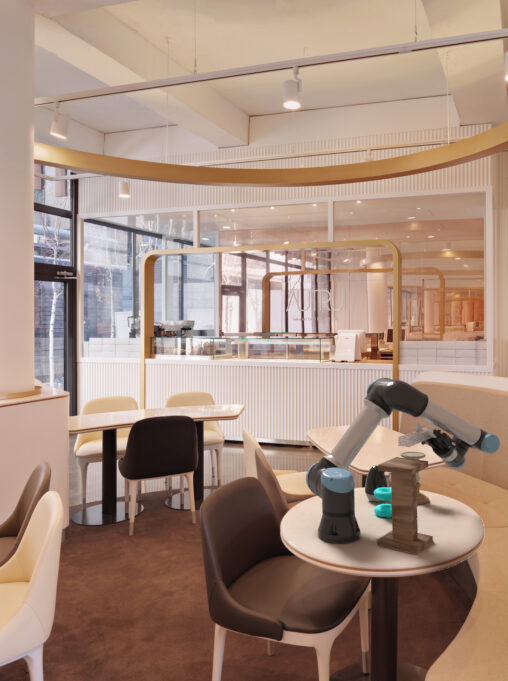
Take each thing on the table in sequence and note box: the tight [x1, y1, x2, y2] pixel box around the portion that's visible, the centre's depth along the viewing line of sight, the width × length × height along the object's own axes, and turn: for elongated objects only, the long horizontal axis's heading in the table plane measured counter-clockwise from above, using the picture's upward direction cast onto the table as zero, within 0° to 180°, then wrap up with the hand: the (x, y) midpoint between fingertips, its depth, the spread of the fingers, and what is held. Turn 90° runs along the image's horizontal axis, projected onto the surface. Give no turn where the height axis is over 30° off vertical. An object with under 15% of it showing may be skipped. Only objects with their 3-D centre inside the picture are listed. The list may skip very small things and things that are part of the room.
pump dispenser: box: [364, 464, 388, 503], centre depth 249 cm, size 10×10×15 cm
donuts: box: [373, 487, 392, 519], centre depth 229 cm, size 10×10×10 cm
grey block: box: [397, 426, 437, 448], centre depth 208 cm, size 24×4×3 cm, turn 141°
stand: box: [376, 456, 434, 555], centre depth 198 cm, size 14×14×28 cm
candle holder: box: [400, 451, 430, 505], centre depth 247 cm, size 12×12×20 cm
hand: (422, 427), depth 211 cm, fingers closed on grey block, 4 cm apart
